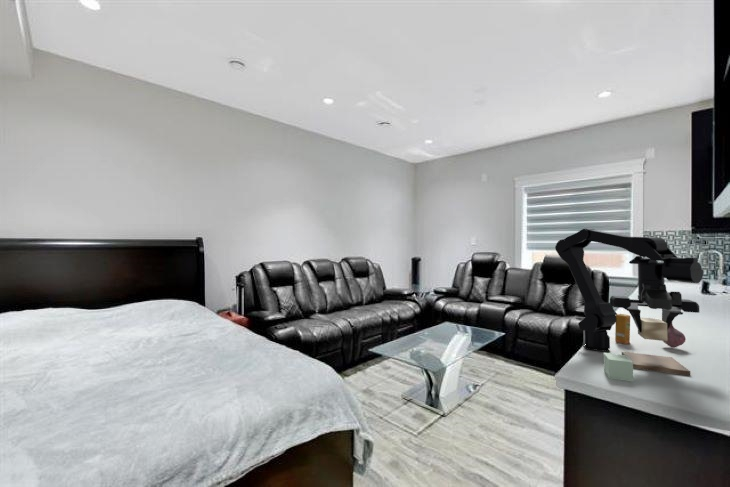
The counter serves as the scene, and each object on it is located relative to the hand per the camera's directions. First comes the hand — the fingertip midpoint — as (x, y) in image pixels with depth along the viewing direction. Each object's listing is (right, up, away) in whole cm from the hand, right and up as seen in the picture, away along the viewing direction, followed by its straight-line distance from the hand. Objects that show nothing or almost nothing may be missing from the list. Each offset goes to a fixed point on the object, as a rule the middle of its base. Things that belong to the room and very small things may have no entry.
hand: (651, 333), depth 92 cm
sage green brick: (-16, -9, -8) cm, 20 cm away
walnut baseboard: (0, -9, 0) cm, 9 cm away
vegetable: (+20, -9, +14) cm, 26 cm away
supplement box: (+9, -10, +21) cm, 25 cm away
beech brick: (0, -1, 0) cm, 1 cm away
